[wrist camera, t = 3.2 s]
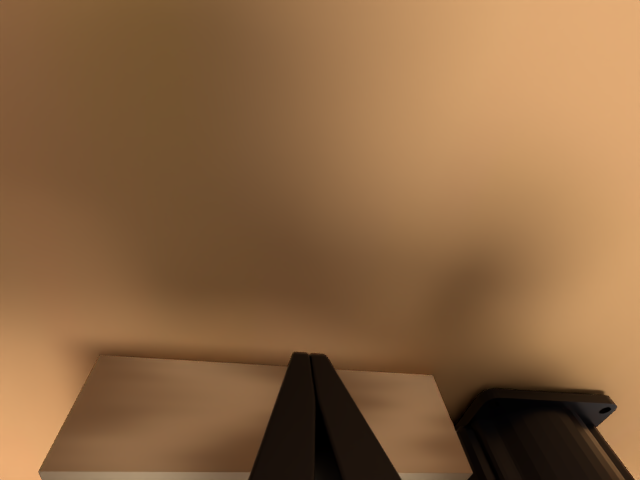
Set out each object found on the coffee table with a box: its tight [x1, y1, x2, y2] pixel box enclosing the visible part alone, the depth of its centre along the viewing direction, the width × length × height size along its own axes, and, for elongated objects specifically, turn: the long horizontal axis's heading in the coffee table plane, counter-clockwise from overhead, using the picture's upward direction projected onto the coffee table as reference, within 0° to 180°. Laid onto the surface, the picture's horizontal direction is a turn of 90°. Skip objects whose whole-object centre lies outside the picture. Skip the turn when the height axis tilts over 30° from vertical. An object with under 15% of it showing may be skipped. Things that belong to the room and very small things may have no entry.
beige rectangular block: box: [38, 355, 473, 480], centre depth 14 cm, size 12×10×4 cm
